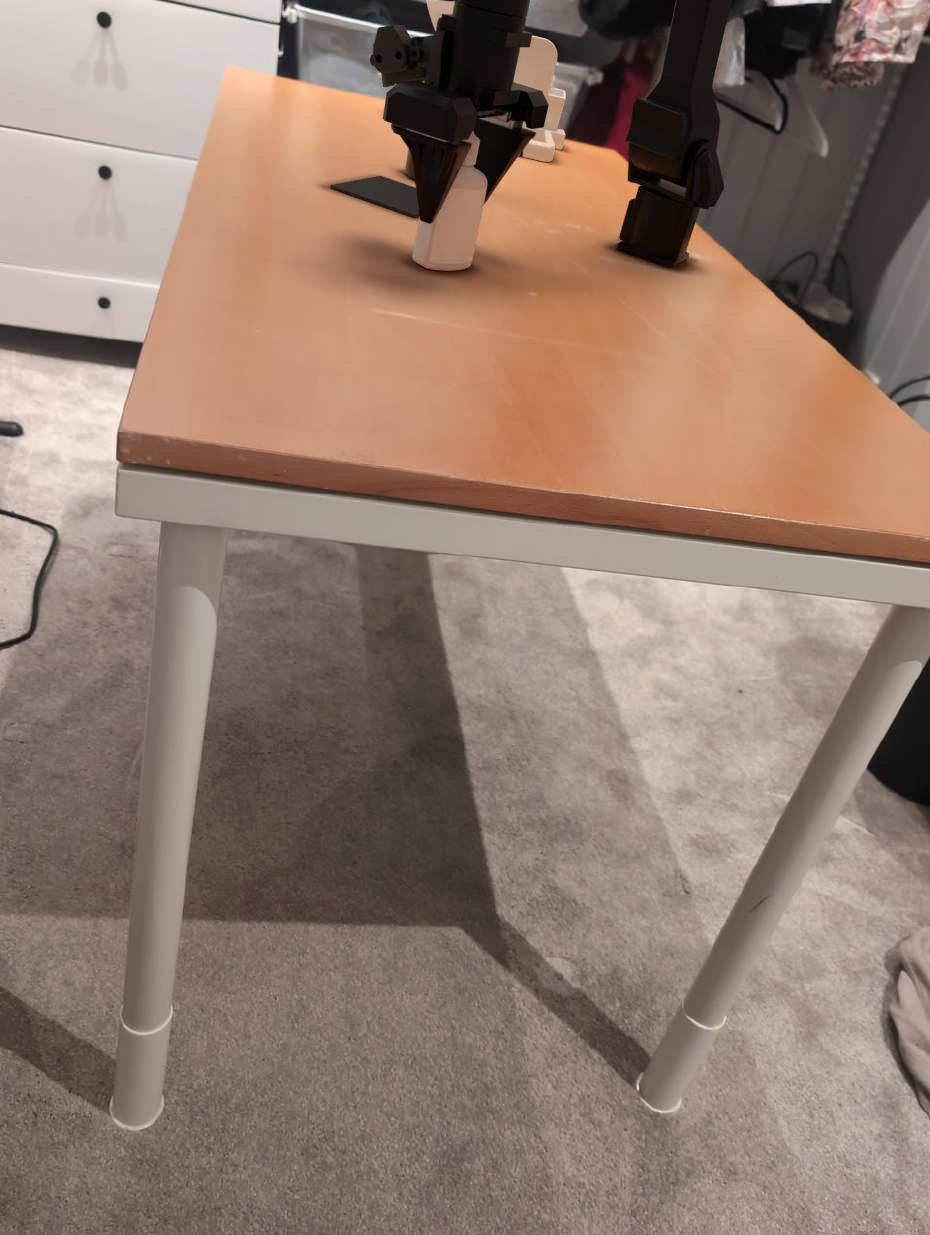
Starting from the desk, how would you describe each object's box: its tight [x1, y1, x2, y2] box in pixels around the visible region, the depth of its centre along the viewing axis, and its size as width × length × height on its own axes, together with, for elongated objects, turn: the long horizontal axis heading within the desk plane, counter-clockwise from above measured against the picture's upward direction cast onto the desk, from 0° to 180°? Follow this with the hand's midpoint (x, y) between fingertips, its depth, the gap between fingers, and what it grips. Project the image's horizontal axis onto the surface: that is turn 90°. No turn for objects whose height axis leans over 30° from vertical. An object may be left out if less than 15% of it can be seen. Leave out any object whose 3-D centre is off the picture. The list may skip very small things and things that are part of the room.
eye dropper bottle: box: [412, 132, 487, 272], centre depth 87 cm, size 4×6×12 cm
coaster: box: [329, 175, 419, 219], centre depth 107 cm, size 10×10×1 cm
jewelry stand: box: [425, 0, 567, 163], centre depth 137 cm, size 25×16×25 cm, turn 91°
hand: (451, 215), depth 88 cm, fingers open, 9 cm apart
